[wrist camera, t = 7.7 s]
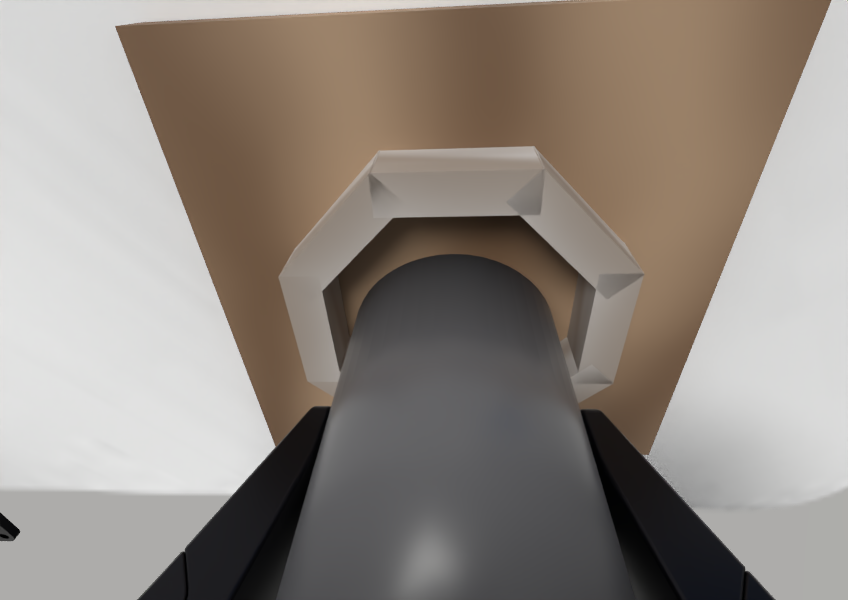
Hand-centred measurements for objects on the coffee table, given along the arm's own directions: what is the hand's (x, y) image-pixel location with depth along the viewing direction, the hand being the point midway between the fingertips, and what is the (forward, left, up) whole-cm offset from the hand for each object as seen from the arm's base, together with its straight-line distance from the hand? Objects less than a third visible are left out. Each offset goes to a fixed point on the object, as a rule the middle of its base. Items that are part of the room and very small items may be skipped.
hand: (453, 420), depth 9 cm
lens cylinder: (0, 0, -2) cm, 2 cm away
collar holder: (0, 0, -5) cm, 5 cm away
